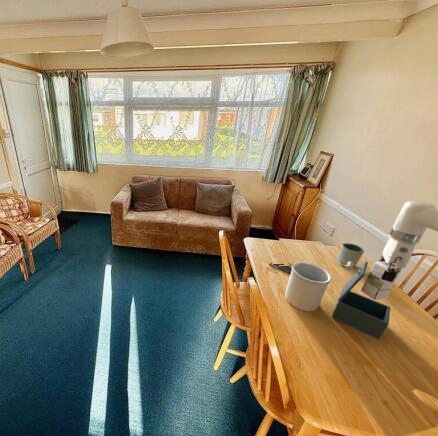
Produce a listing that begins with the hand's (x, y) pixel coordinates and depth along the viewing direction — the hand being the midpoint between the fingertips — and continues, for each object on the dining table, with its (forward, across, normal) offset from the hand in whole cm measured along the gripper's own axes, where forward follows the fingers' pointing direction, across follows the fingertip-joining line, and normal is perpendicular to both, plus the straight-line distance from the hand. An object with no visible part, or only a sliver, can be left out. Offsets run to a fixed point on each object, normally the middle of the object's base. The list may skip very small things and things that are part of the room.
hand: (384, 274), depth 89 cm
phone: (+25, +25, +32) cm, 48 cm away
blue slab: (+8, +1, +7) cm, 11 cm away
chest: (+25, 0, +1) cm, 25 cm away
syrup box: (+11, 0, 0) cm, 11 cm away
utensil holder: (+25, -1, +22) cm, 34 cm away
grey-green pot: (+25, +50, +1) cm, 56 cm away
